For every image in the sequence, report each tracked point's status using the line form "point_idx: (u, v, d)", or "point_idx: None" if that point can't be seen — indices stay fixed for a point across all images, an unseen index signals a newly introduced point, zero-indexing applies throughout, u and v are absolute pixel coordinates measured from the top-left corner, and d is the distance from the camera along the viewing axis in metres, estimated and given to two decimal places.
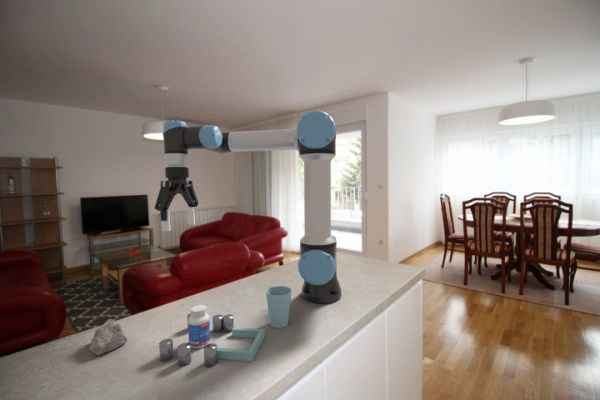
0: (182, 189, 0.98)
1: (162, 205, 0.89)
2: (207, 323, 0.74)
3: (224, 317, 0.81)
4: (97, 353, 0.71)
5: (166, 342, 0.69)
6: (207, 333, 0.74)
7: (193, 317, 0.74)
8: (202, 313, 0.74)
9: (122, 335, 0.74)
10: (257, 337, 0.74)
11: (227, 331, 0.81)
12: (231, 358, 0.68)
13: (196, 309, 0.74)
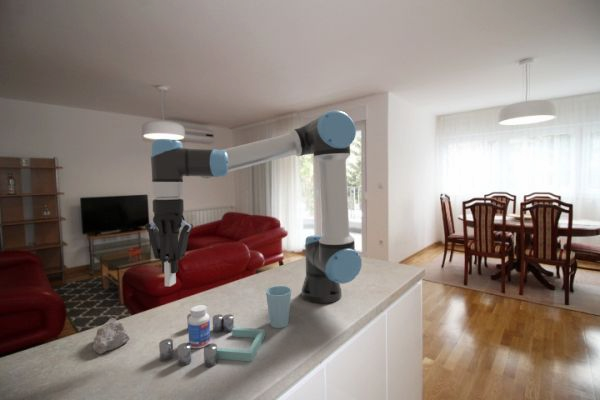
0: None
1: (155, 254, 0.75)
2: (207, 323, 0.74)
3: (224, 317, 0.81)
4: (100, 351, 0.71)
5: (166, 342, 0.69)
6: (207, 333, 0.74)
7: (193, 317, 0.74)
8: (202, 313, 0.74)
9: (124, 334, 0.74)
10: (257, 337, 0.74)
11: (227, 331, 0.81)
12: (231, 358, 0.68)
13: (196, 309, 0.74)
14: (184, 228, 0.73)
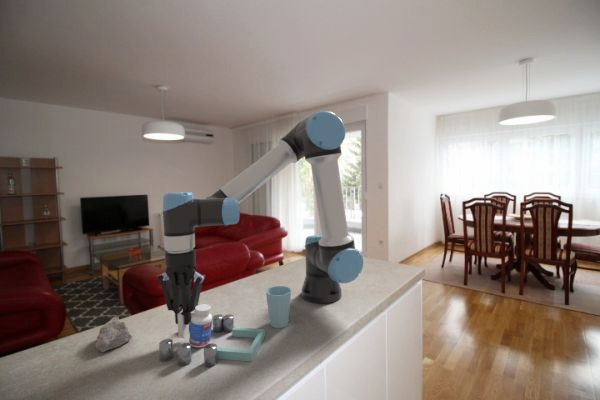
0: None
1: (168, 306, 0.75)
2: (210, 323, 0.74)
3: (224, 317, 0.81)
4: (102, 350, 0.72)
5: (166, 342, 0.69)
6: (208, 333, 0.74)
7: (197, 316, 0.73)
8: (206, 313, 0.74)
9: (127, 332, 0.75)
10: (257, 337, 0.74)
11: (227, 331, 0.81)
12: (231, 358, 0.68)
13: (200, 309, 0.74)
14: (197, 280, 0.73)
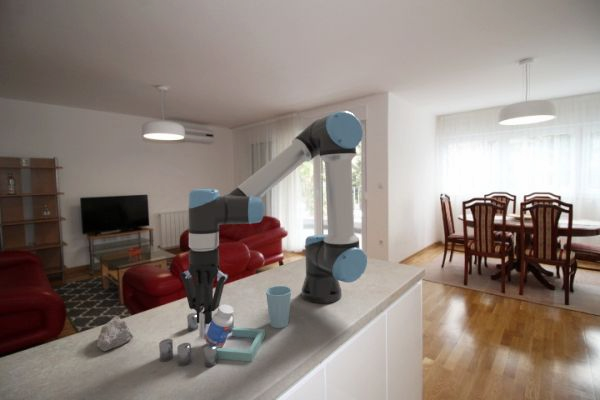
0: None
1: (190, 304, 0.74)
2: (230, 326, 0.73)
3: None
4: (104, 349, 0.72)
5: (166, 342, 0.69)
6: (226, 335, 0.74)
7: (219, 317, 0.72)
8: (229, 316, 0.72)
9: (128, 332, 0.75)
10: (257, 337, 0.74)
11: None
12: (231, 358, 0.68)
13: (224, 310, 0.73)
14: (220, 280, 0.72)
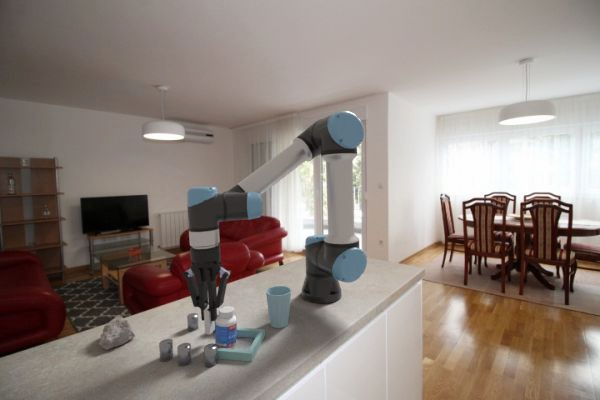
0: None
1: (194, 302, 0.74)
2: (235, 325, 0.73)
3: None
4: (106, 348, 0.73)
5: (166, 342, 0.69)
6: (234, 335, 0.73)
7: (221, 318, 0.72)
8: (231, 314, 0.73)
9: (130, 331, 0.76)
10: (257, 337, 0.74)
11: None
12: (231, 358, 0.68)
13: (224, 311, 0.73)
14: (223, 276, 0.72)
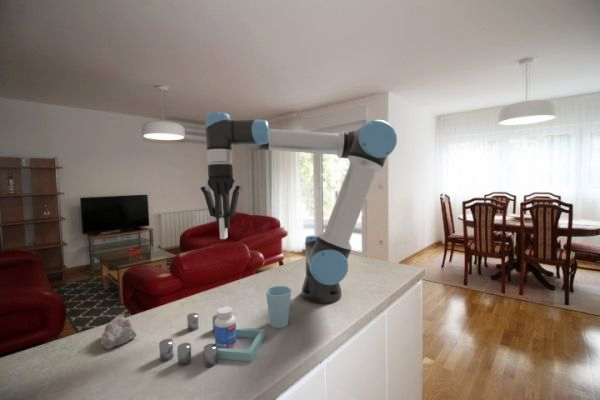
0: None
1: (210, 212, 0.88)
2: (234, 325, 0.73)
3: None
4: (107, 347, 0.73)
5: (166, 342, 0.69)
6: (234, 335, 0.73)
7: (220, 319, 0.72)
8: (229, 315, 0.72)
9: (131, 330, 0.76)
10: (257, 337, 0.74)
11: None
12: (231, 358, 0.68)
13: (223, 311, 0.73)
14: (236, 188, 0.87)
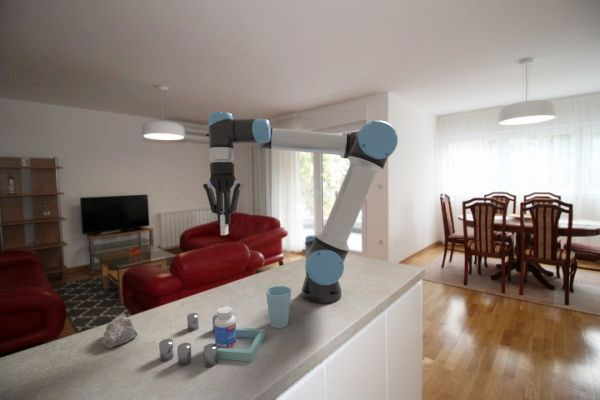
0: None
1: (212, 209, 0.91)
2: (234, 325, 0.73)
3: None
4: (109, 346, 0.74)
5: (166, 342, 0.69)
6: (234, 335, 0.73)
7: (220, 319, 0.72)
8: (229, 315, 0.73)
9: (132, 329, 0.76)
10: (257, 337, 0.74)
11: None
12: (231, 358, 0.68)
13: (223, 311, 0.73)
14: (237, 186, 0.89)
